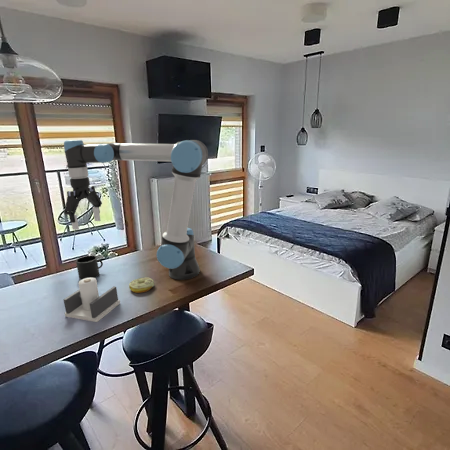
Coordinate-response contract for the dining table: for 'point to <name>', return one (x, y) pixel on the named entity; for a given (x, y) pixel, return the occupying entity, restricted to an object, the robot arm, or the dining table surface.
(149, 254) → the dining table surface
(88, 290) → the roll
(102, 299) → the cradle
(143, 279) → the decorated donut
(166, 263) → the robot arm
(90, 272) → the mug
